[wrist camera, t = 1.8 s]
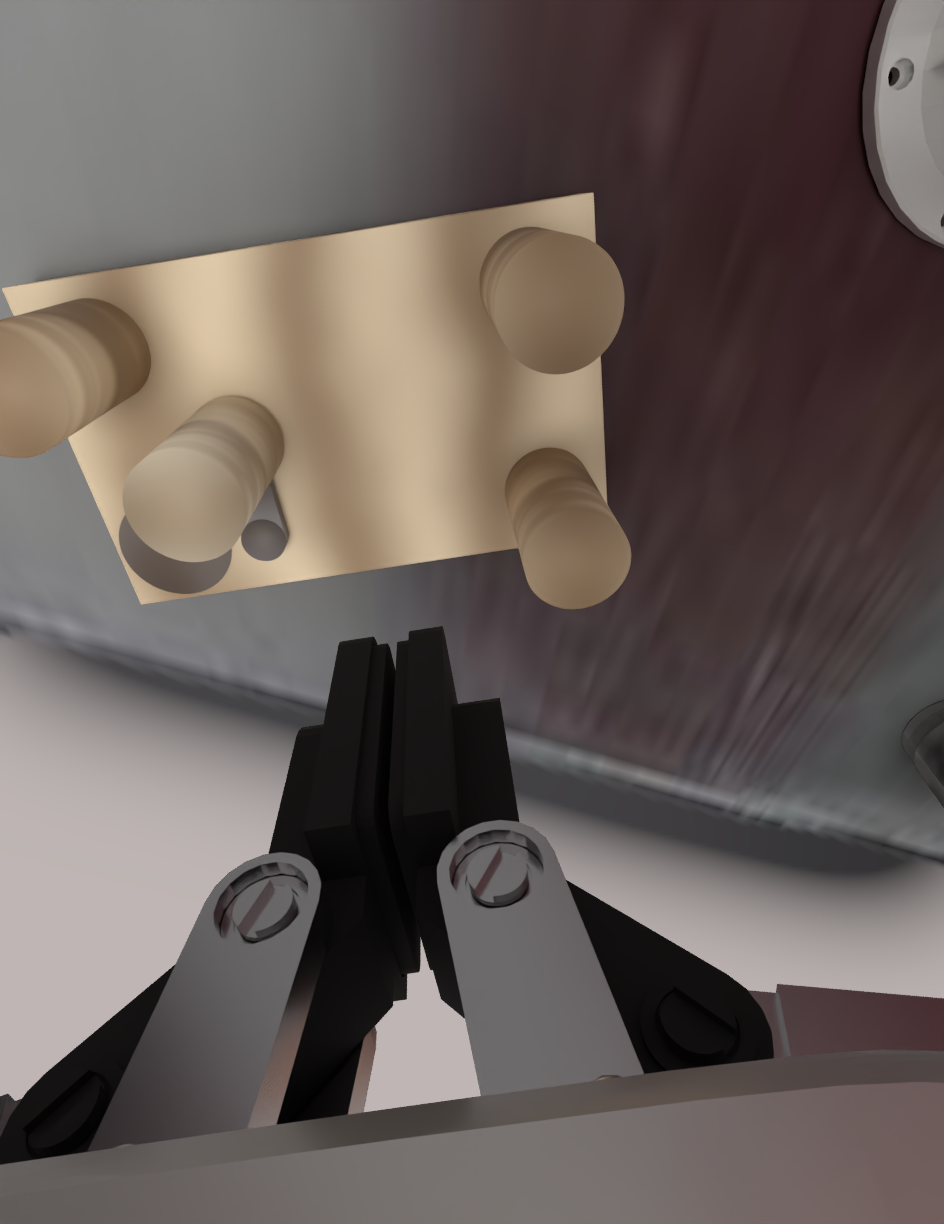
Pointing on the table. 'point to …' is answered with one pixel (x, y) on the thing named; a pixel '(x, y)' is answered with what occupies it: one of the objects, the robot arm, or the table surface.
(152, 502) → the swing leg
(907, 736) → the beverage cup
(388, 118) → the table surface
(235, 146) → the table surface
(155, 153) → the table surface
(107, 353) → the stool seat
